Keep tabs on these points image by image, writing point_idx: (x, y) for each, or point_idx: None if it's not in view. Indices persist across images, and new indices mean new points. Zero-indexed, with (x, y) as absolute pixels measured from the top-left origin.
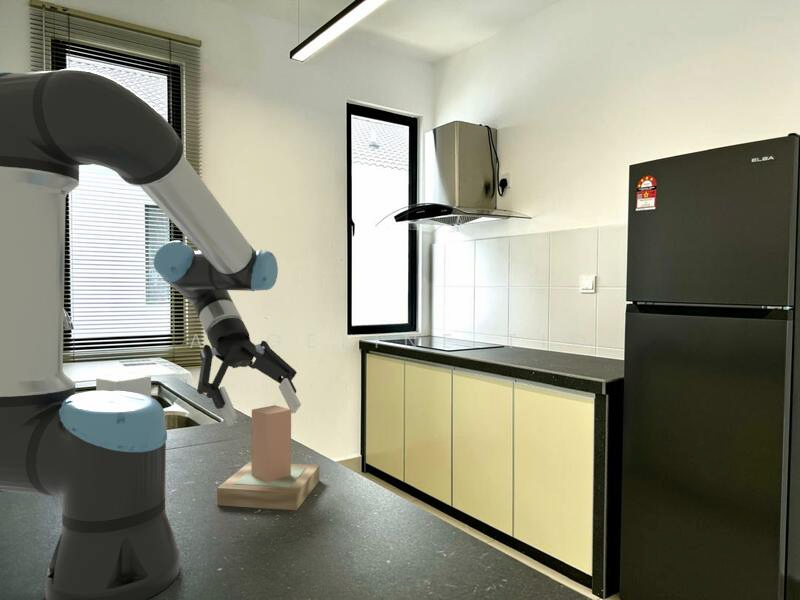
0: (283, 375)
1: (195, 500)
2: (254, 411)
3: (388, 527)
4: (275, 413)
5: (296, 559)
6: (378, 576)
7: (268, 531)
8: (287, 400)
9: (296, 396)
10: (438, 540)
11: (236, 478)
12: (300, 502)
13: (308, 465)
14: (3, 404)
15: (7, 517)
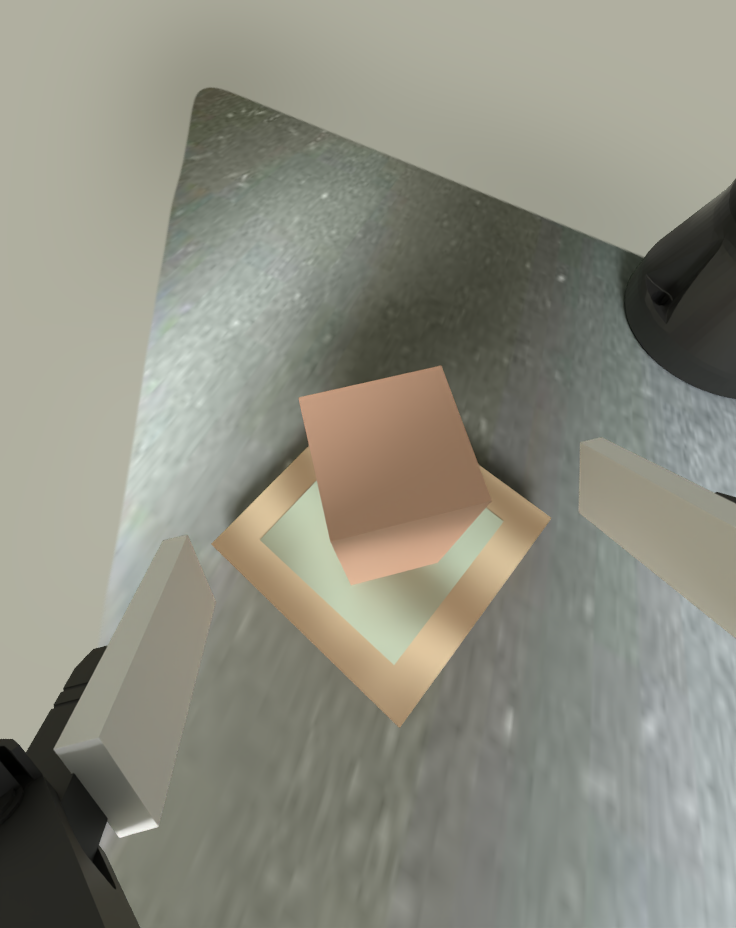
0: (57, 804)
1: (585, 596)
2: (480, 477)
3: (255, 268)
4: (395, 378)
5: (443, 251)
6: (359, 175)
7: (455, 350)
8: (192, 651)
9: (143, 582)
10: (220, 205)
11: (485, 564)
12: None
13: (241, 560)
14: None
15: None
